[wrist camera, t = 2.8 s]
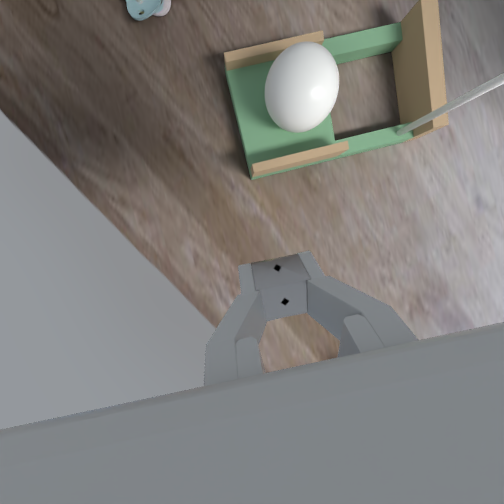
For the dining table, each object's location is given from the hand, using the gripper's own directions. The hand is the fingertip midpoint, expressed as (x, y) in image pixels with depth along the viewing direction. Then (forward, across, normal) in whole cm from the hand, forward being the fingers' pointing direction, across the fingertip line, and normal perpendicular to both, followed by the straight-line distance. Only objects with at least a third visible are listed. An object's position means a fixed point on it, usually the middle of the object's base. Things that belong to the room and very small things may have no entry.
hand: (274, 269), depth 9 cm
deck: (+28, -13, -2) cm, 31 cm away
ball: (+22, -8, -5) cm, 24 cm away
